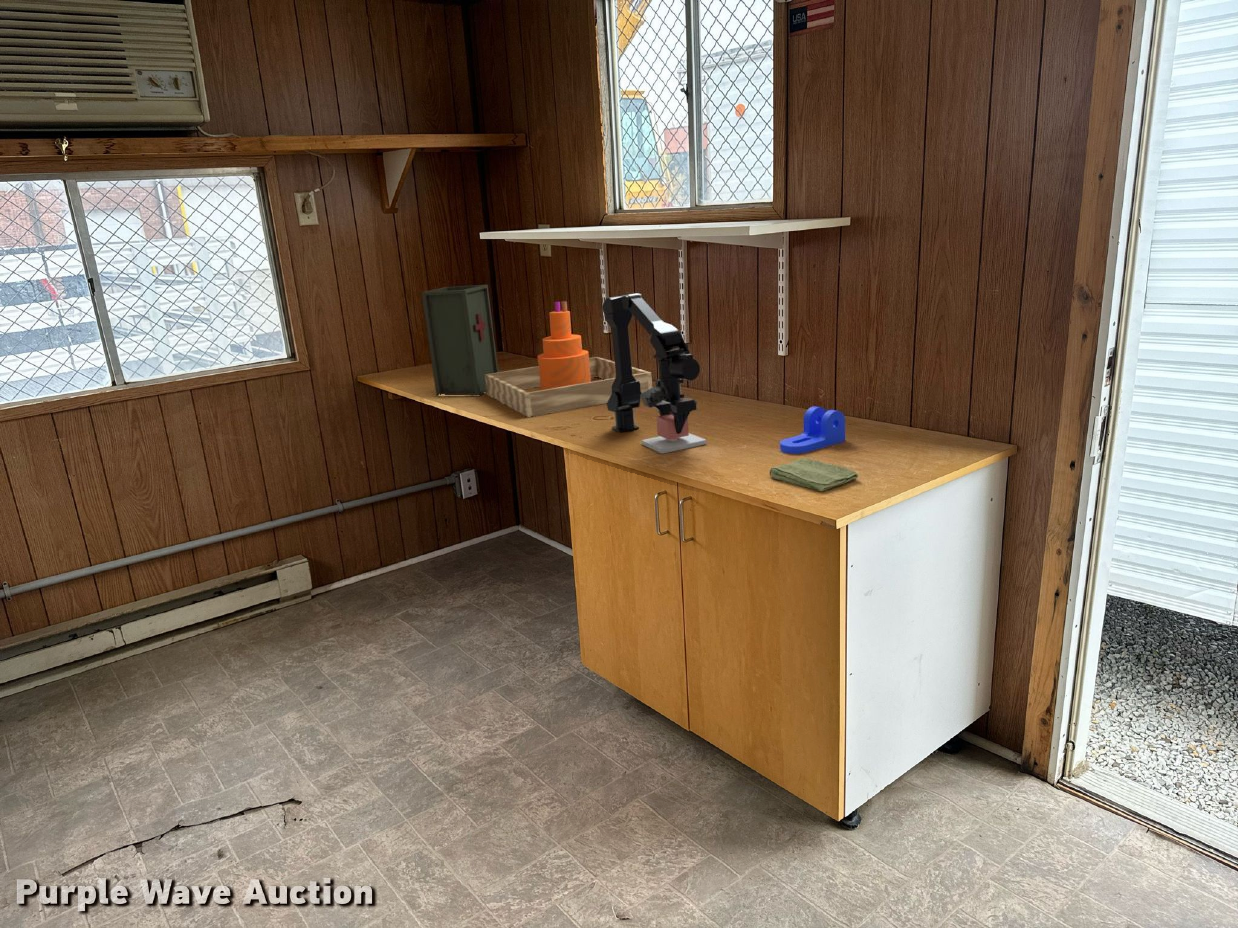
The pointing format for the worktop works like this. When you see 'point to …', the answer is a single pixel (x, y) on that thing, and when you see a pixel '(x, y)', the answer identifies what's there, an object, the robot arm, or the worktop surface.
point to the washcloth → (812, 474)
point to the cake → (562, 354)
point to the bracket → (817, 431)
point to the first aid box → (460, 338)
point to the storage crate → (557, 389)
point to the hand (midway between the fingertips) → (672, 431)
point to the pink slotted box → (670, 427)
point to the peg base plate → (673, 443)
